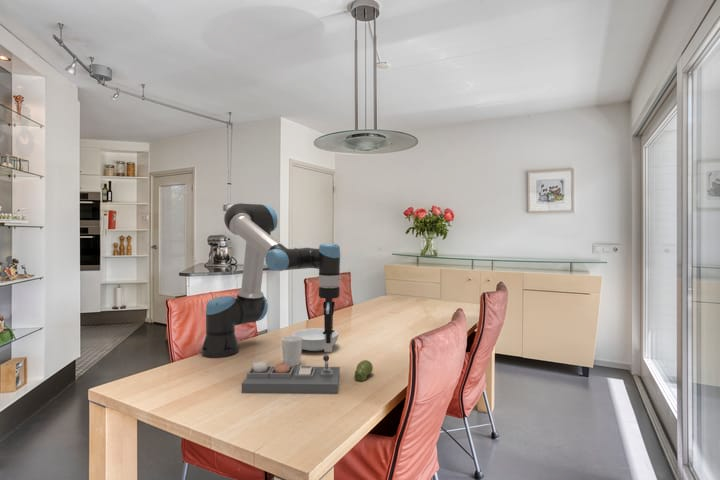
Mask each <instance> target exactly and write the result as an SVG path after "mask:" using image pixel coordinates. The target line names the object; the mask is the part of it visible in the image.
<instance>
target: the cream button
mask: <svg viewBox="0 0 720 480" xmlns="http://www.w3.org/2000/svg"><path fill="white" fill-rule="evenodd" d="M252 366H253V372H255V373H263V372H266V371H268V366H269V362H268V361H267V360H264V359H263V360H255V361H254V362H253V363H252Z"/></svg>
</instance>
